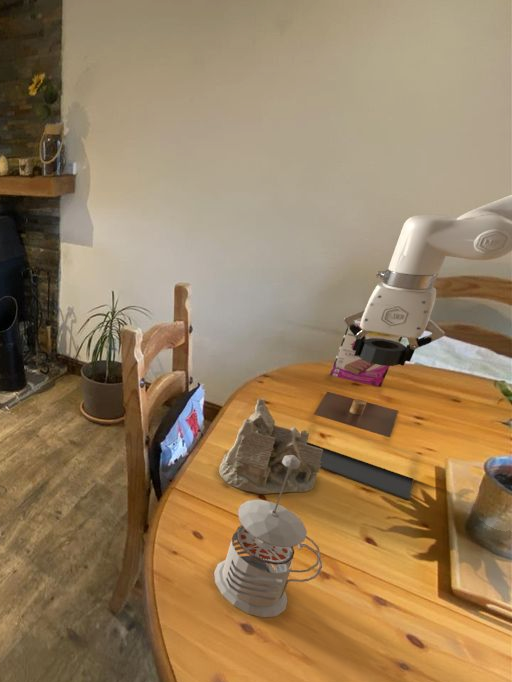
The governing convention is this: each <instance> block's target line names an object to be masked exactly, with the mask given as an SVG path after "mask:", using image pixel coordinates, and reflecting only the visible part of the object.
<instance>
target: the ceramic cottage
mask: <svg viewBox="0 0 512 682" xmlns="http://www.w3.org/2000/svg"><path fill="white" fill-rule="evenodd" d="M309 436H310V434H309V432H308V430H301V431H300V432H299V430H298V429H297V428H296V426H293V427H292V426H291V427H290V428H286V427H282V426H279V425H276V421H275V419H274V418H273V416H272V414H271V413H270V411H269V408H268V407H267V405H266V400H265V398H262V397H261V398H260V397H259V398H258V399H257V401H256V404H255V407H254V412H253V413H252V414H251V415H250V416H249V418H245V419H244V420H243V422H242V425H241V426H240V427H239V429H238V432H237V435H236V439H235V441H234V444H233V446H231V448H230V449H229V450H228V452H227V453H226V454H224V455H223V458H222V461H221V463H220V465H219V468H218V473H219V476H220V477H221V479H222V480H223V481H224V482H225V483H227V484H228V485H230V486H232V487H234V488H237V489H239V490H241V491H244V492H248V493H254V494H258V495H267V494H271V495H272V494H280V492H281V489H282V486H283V483H284V480H285V477H286V474H287V471H288V468H289V467H286V466H285V465H284V464H283V463H282V461H283V458H284V457H285V456H287V455H294V456H296V457H297V458H298V459H299V460H300V466H299V468H297V469H292V468H290V471H289V474H288V477H287V480H286V483H285V486H284V489H283V492H282V494H286V493H305V492H309V491H312V489H314V487H315V481H316V479H317V477H316V476H317V474H318V473H319V472H320V469H321V468H320V467H321V465H320V464H321V461H320V460H321V456H322V453H323V449H320V448H317V447H313V446H310V445H307V442H308V439H309Z"/></svg>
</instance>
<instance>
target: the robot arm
mask: <svg viewBox="0 0 512 682" xmlns="http://www.w3.org/2000/svg"><path fill="white" fill-rule="evenodd" d="M403 223H404V224H403V225H402V227H401V228H402V229H401V231H400V234H399V237H398V240H397V242H396V244H395V248H394V251H393V253H392V256H391V259H390V261H389V265H388V268H387V269H385V270H382V271H381V270H378V271H377V273H376V275H375V278H378V279H381V280H382V282H379V283H377V285H376V286H375V288H374V290H373V291H372V292H371V295H370V297H369V299H368V301H367V304H366V305H365V309H362V310H359V311H357V312H354V313H352V314H349V315H347V316H345V317H344V319H343V321H344V323H345V325H346V326H348V327H349V329H350V330H351V332H352V333H353V334H354V335H355V338H356V341H355V344H354V347H353V351H356V352H355V355H354V356H359V353H360V350H361V348H362V345H363V342H364V340H365V339H366V337H365V335H366V334H367V333H369V332H375V333H381V334H387V335H393V336H399V337H402V338H406V339H407V342H408V344H406V349H405V352H404V354H403V357H402V359H401V362H400V364H399V365H400V366H402V367H404V366H405V364H406V362H409V363H411V361H412V358H413V355H414V353H415V351H416V350H418V348H421V347H423V346H426V345H429V344H430V343H433V342H434V341H437V340H439V339H441V338H443V337H445V335H446V333H445V331H444V330H443V329H442V328H440V327H441V326H439V325H438V324H436V322H434V321H433V320H432V319H431V315H432V312H433V309H434V306H435V304H436V303H435V302H436V297H437V288H435V287H434V286H435V283H436V281H437V278H438V276H439V273H440V271H441V268H442V266H443V264H444V261H445V259H446V257H451V258H457V259H458V258H459V259H463V260H470V261H490V260H495V259H499V258H502V257H504V256H506V255H508V254H509V253H511V252H512V194H510V195H507V196H505V197H502V198H499V199H497V200H494V201H492V202H489V203H486V204H484V205H482V206H479V207H476V208H474V209H472V210H470V211H467V212H464V213H463V214H462V215H460V216H458V217H457V218H456V217H455V216H451V215H444V214H419V215H413V216H411V217H409V218H407V219H406V221H405V222H403ZM359 319H360V321H361V323H360V327H361V328H362V329H360V328H359V326H358V325H357V324H356V323H355V321H354V320H359ZM426 329H427V330H428V331H430V332H431V333H430V334H428V335H425V336H423V334H424V333H425V331H426Z"/></svg>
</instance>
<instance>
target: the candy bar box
mask: <svg viewBox="0 0 512 682" xmlns="http://www.w3.org/2000/svg"><path fill="white" fill-rule="evenodd" d="M354 321H355V323H356V324H357V325H358V326H359V328H360V329H362V328H361V327H360V323H361V320H359V319H356V320H354ZM346 326H347V325H346ZM365 337H366V339H370V338H379V339H387V340H392V341H395V342H398V343H401V342H402V340H403V337H399V336H393V335H387V334H381V333H375V332H369V333H367V334H366V335H365ZM355 341H356V338H355V335H354V334H353V333H352V332H351V330H350V329H349V327H348V326H347V327H346V329H345V332H344V335H343V337H342V341H341V343H340V346H339V347H338V351H337V353H336V357H335V359H334V362H333V365H332V368H331V370H330V373H329V376H332V377H336V378H339V379H340V378H341V379H344V380H349V381H353V382H356V383H357V382H358V383H360V384H361V383H362V384H365V385H371V386H375V387H380V388H381V387H382V385H383V383H384V381H385V379H386V376H387V374H388V372H389V369H390V367H391V366H382V365H378V364H373V363H369V362H367V361H364V360H362V359H361V358H360V357H359V356H354V355H355V352H356V351H353V347H354V344H355Z"/></svg>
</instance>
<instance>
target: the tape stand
mask: <svg viewBox="0 0 512 682" xmlns="http://www.w3.org/2000/svg"><path fill="white" fill-rule="evenodd" d="M398 413H399V410H397V409H393V408H389V407H388V406H382V405H379V404H375V403H372V402H368V401H366V400H363V399H359V398H353V397H350V396H345V395H342V394H337V393H335V392H330V391H326V392H325V394H324V395H323V398H322V399H321V401H320V402H319V404H318V406H317V408H316V409H315V411H314V412H313V415H314V416H317V417H321V418H325V419H327V420H331V421H335V422H337V423H340V424H344V425H347V426H350V427H354V428H357V429H361V430H364V431H367V432H371V433H374V434H378V435H381V436H383V437H386V438H391V436H392V433H393V430H394V426H395V423H396V420H397V417H398Z"/></svg>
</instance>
